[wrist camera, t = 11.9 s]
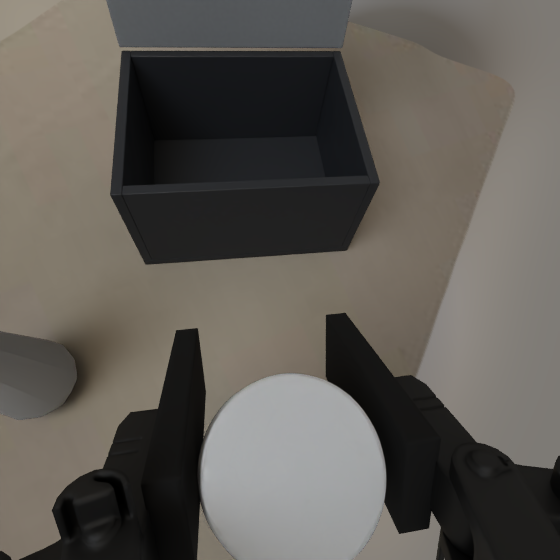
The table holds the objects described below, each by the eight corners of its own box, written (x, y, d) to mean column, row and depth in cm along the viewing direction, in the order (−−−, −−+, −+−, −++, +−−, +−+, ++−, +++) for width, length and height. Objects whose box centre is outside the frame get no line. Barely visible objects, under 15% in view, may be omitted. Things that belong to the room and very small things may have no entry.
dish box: (346, 250, 38) (380, 182, 28) (145, 264, 35) (109, 195, 26) (320, 136, 44) (340, 50, 35) (148, 141, 42) (121, 50, 32)
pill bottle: (293, 383, 17) (331, 321, 9) (351, 488, 15) (455, 516, 8) (195, 439, 16) (146, 419, 8) (247, 560, 14) (247, 680, 6)
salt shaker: (26, 344, 31) (-106, 275, 19) (96, 351, 31) (7, 287, 20) (-4, 419, 28) (-176, 391, 17) (73, 426, 29) (-45, 404, 17)
